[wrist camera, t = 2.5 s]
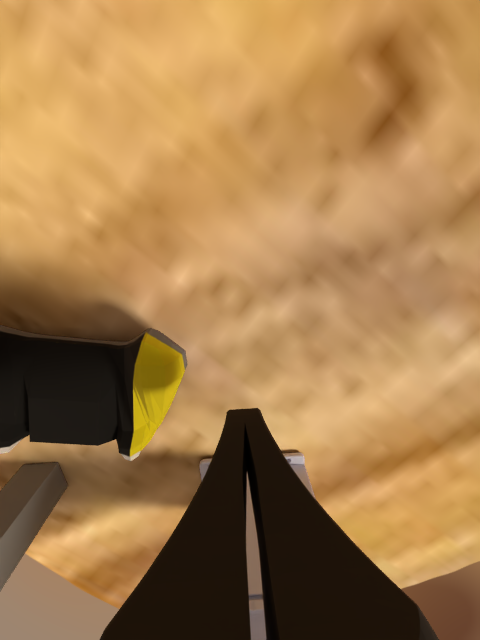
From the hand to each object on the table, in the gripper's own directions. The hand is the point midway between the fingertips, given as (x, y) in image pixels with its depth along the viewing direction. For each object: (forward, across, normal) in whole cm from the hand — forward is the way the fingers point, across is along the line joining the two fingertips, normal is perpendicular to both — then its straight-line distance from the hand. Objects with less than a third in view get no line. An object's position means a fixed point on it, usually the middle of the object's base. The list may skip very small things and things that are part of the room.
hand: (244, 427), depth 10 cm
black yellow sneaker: (+8, +11, +1) cm, 14 cm away
